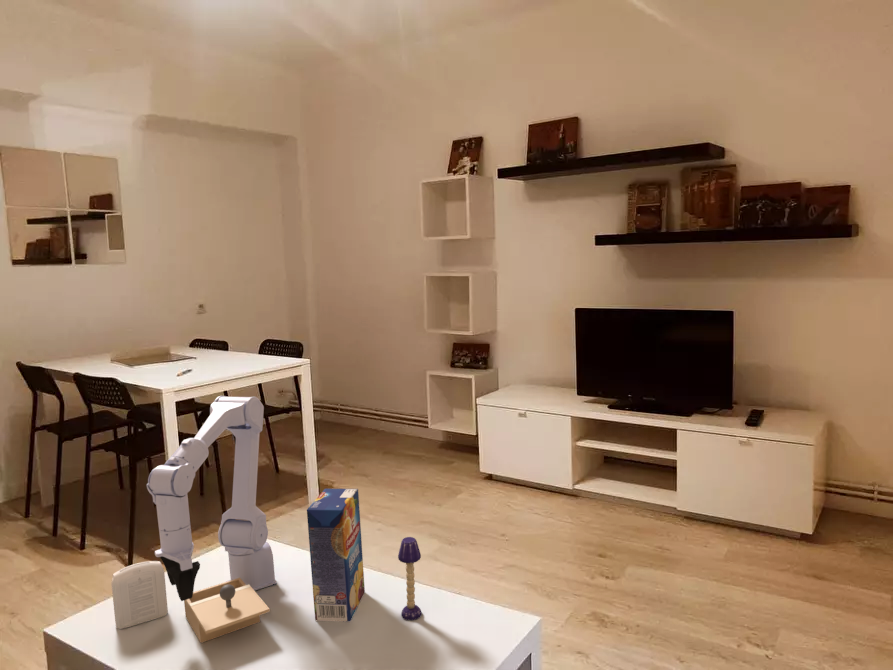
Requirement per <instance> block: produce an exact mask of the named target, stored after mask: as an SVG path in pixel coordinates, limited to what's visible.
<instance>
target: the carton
mask: <svg viewBox="0 0 893 670" xmlns="http://www.w3.org/2000/svg"><path fill="white" fill-rule="evenodd" d="M229 580H230V581H229ZM229 580H227V582H226V581H224V582H221V583H218V584H216V585H211V586H208V587H206V588H203V589H198V590H196V591H193V596H192V598H190V599H187V600H184V601H183V602H184V604H183V605H184V614H185V615H184V616H185V619H186V620H187V622H188V623H189V626H190V627H191V628H192V630H193V632H194V633H195V635H196V637H197V639H198V641H199V642H200V643H201V644H202V643H205V642H208V641H211V640H214V639H216V638H219V637H222V636H225V635H227V634H230V633H233V632H235V631H238V630H240V629H245V628H248V627H250V626H252V625H255V624H258V623H260V622H261V615H259V616H256V617H253V618H250V619H247V620H245V621H242V622H239V623H236V624H233V625H230V626H228V627H225V628H222V629H219V630H216V631H213V632H211V633H208V634H206V633H205V631H204V630H203V628H202V626H201V625H200V623H199V622H198V620H197V618H196V617H195V615H194V613H193V612H192V610H191V608H190V607H189V604H190V603H193V602H196V601H199V600H202V599H205V598H208V597H212V596H215V595H218V594H220V590H221V588H222V587H223V586H224V585H227V584H230V585H232V586H233V587H234V588H235V589H236V588H239V587H242V586H246V584H245V583H244V582H243V581H242V579H241V578H237V579H234V580H231V579H229Z"/></svg>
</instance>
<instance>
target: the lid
mask: <svg viewBox="0 0 893 670" xmlns="http://www.w3.org/2000/svg"><path fill="white" fill-rule="evenodd" d="M189 607H190V608H191V610H192V612H193V613H194V615H195V617H196V618H197V620H198V622H199V623H200V625H201V626H202V628H203V630H204V631H205V633H206V634H208V633H211V632H213V631H216V630H219V629H222V628H225V627H228V626H230V625H233V624H236V623H239V622H242V621H245V620H247V619H250V618H253V617H256V616H259V615H260V616H261V615H262V616H263V615H265V614H267V613H270V610H271V609H270V607H268V605H267V604H266V603H265V601H264V600H263V599H262V598H261V597H260V595H258V593H257V591H256V590H255V591H254V590H253V588H252V587H251V586H250V585H246V586H242V587H239V588H236V589H235V588H234V587H233V586H232V585H230V584H227V585H224V586H223V587H222V588H221V590H220V594H218V595H215V596H212V597H208V598H205V599H202V600H199V601H196V602H193V603H190V604H189Z"/></svg>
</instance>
